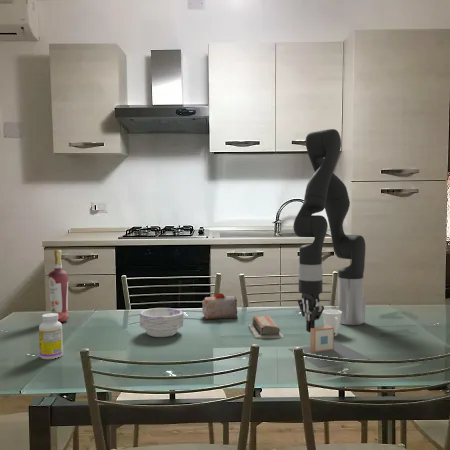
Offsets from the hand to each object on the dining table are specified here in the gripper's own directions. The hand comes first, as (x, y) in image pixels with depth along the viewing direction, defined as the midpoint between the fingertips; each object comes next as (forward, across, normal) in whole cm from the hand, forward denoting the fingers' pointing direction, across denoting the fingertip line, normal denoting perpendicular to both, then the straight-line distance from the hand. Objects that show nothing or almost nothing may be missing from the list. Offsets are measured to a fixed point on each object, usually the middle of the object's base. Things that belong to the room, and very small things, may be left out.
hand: (310, 331), depth 158 cm
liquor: (+5, +64, +74) cm, 98 cm away
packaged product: (+5, +20, +7) cm, 22 cm away
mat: (+5, -11, 0) cm, 12 cm away
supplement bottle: (+5, +20, +78) cm, 81 cm away
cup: (+5, +7, -13) cm, 16 cm away
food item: (+5, +47, +14) cm, 49 cm away
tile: (+4, -7, 0) cm, 8 cm away
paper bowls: (+5, +32, +41) cm, 52 cm away
